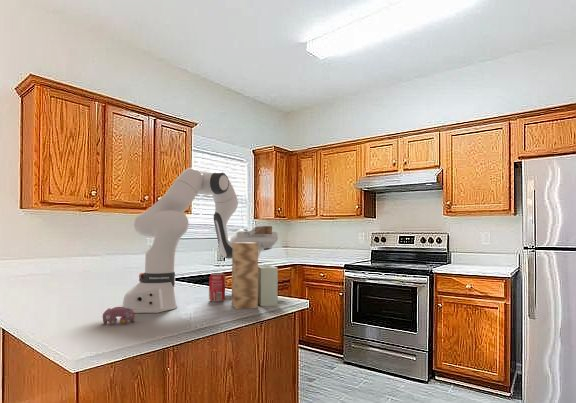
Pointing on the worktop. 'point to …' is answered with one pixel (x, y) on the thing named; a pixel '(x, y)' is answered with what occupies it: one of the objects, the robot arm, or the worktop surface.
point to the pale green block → (267, 285)
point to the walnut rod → (264, 230)
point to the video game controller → (118, 315)
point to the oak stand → (245, 275)
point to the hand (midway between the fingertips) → (259, 229)
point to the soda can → (217, 287)
